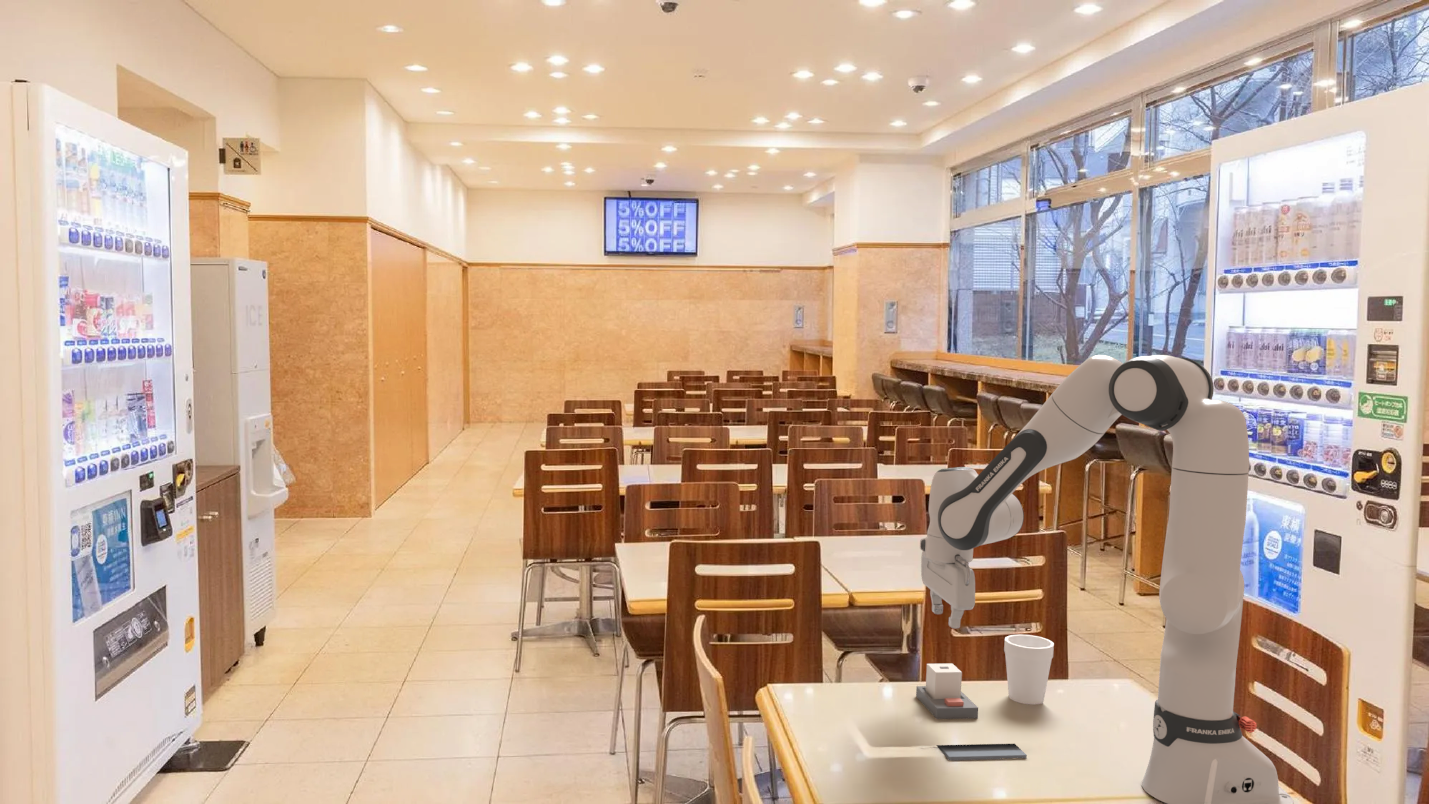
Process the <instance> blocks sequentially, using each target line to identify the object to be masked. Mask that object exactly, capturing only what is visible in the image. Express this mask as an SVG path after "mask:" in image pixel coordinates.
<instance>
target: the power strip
mask: <svg viewBox="0 0 1429 804" xmlns="http://www.w3.org/2000/svg"><path fill="white" fill-rule="evenodd" d="M915 690H916V691H915V696H916V698H917V699H918V700H919V701H920V702H921V703H922V705H924V707H925V708H926V710H928V711H929V712H930V713H931V715H932V716H933V717H934V718H935V719H936V720H953V719H956V720H957V719H958V720H959V719H960V720H961V719H962V720H965V719H967V720H968V719H969V720H970V719H978V718H979V716H978V715H979V707H978V705H976V703H974V702H973V701H972V700H971V699H970V698H969V697H968V696H967V695H966V694H965V693H964V692H963V691H961V699H960V698H945V699H932V698H931V697H930V696H929V695H928V694H927V693H926V685H924V686H923V685H917V686H916V689H915Z"/></svg>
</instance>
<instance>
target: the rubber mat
mask: <svg viewBox="0 0 1429 804" xmlns="http://www.w3.org/2000/svg"><path fill="white" fill-rule="evenodd" d="M935 746H936V747H937V748H938V749H939V750H940V752H941V753H942V754H943V755H944V757H946V759H947V760H948V761H971V760H973V761H975V760H976V761H978V760H982V761H983V760H1003V759H1002V758H1007V759H1006V760H1009V759H1008V758H1025V759H1027V756H1028V755H1027V754H1026V753H1025V752H1024V751H1023V750H1022V749H1021V748H1020V747H1019V746H1018V745H1017V744H1016V743H987V744H986V743H983V744H982V743H980V744H977V743H974V744H939V745H937V744H936V745H935ZM1000 758H1001V759H1000Z"/></svg>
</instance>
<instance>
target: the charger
mask: <svg viewBox="0 0 1429 804" xmlns="http://www.w3.org/2000/svg"><path fill="white" fill-rule="evenodd" d="M962 677H963V672H962V671H961V670H960V669H959V668H958V667H957V666H956V665H954V663H952V662H951V663H926V675H925V686H926V693H927V694H928V695H929V696H930V697H931V698H932V699H945V698H960V699H961V692H962Z"/></svg>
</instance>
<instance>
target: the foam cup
mask: <svg viewBox="0 0 1429 804" xmlns="http://www.w3.org/2000/svg"><path fill="white" fill-rule="evenodd" d="M1054 646H1055V643H1054V642H1053V641H1052V640H1050V639H1048V638H1045V637H1042V636H1038V635H1032V634H1010V635H1008V636H1005V637H1004V647H1003V652H1004V654H1005V656H1004V657H1005V665H1006V666H1005V667H1006V668H1005V669H1006V678H1007V691H1008V698H1009V699H1010V700H1011V701H1014V702H1016V703H1020V704H1025V705H1040V704H1042V705H1044V701H1045V696H1046V690H1047V684H1048V679H1049V676H1050V669H1051V665H1052V659H1053V658H1054Z"/></svg>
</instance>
